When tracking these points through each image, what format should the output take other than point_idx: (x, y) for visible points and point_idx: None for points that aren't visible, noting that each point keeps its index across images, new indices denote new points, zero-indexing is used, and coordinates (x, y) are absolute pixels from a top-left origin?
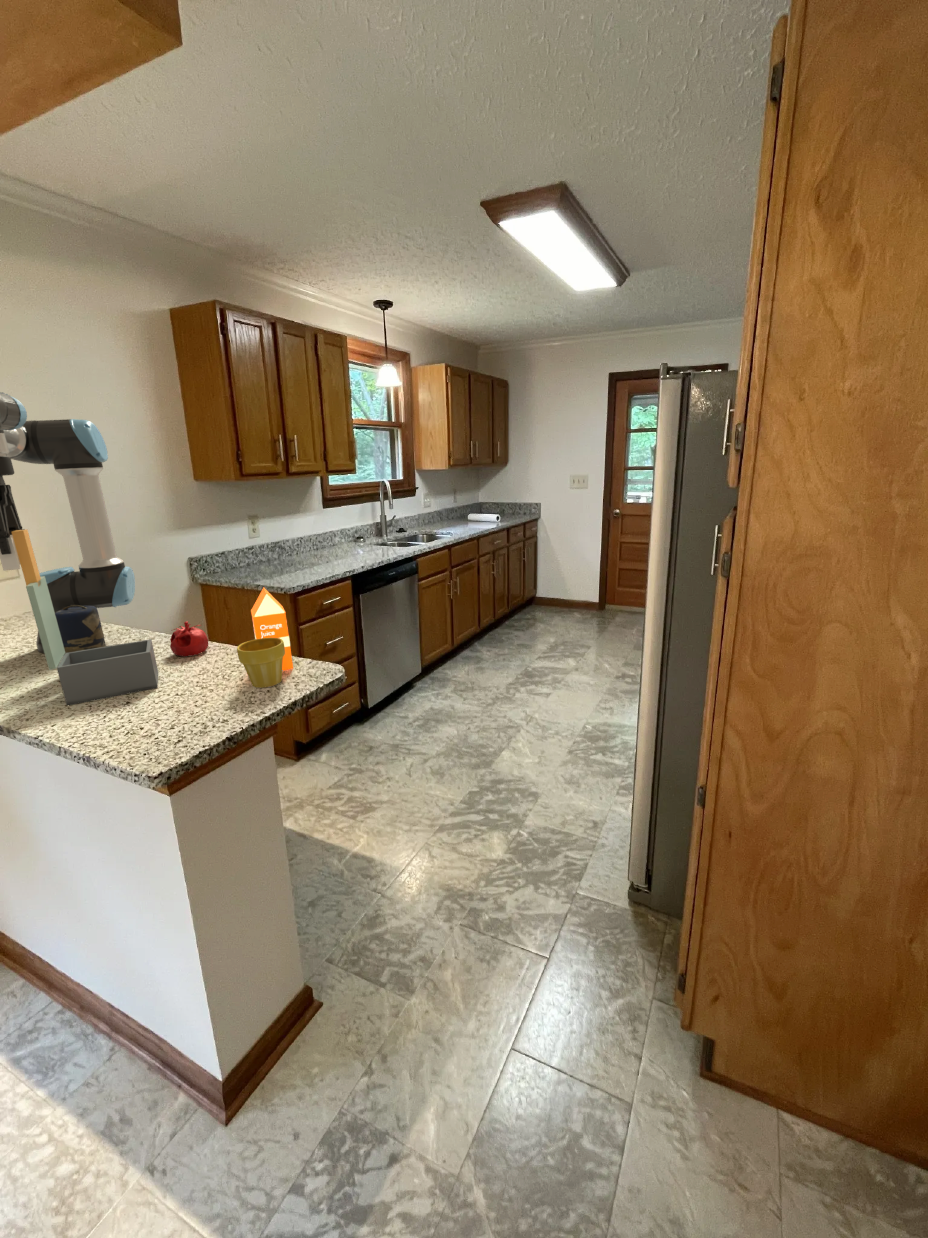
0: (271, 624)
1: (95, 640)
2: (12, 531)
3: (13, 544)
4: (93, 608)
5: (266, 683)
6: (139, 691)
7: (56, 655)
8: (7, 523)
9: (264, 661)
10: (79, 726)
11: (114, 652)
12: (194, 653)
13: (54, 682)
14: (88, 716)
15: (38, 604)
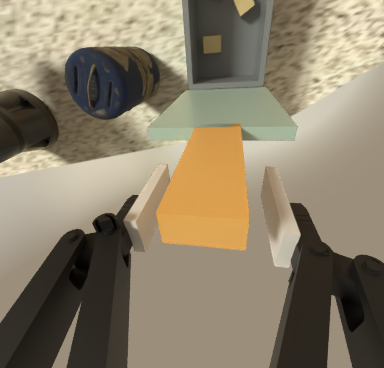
0: None
1: (134, 56)
2: (125, 246)
3: (285, 213)
4: (91, 52)
5: None
6: None
7: (242, 90)
8: (299, 296)
9: None
10: (348, 47)
11: (190, 14)
12: None
13: (162, 109)
14: (319, 42)
15: (283, 112)
